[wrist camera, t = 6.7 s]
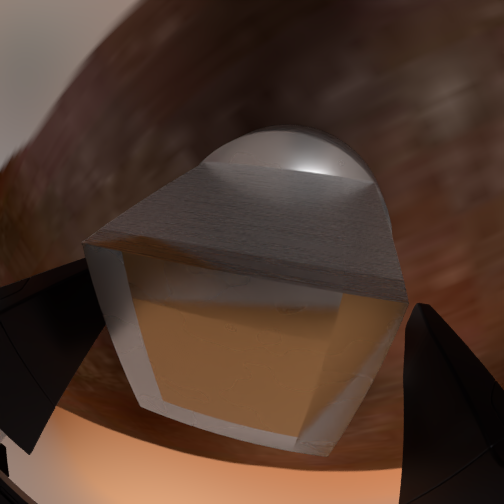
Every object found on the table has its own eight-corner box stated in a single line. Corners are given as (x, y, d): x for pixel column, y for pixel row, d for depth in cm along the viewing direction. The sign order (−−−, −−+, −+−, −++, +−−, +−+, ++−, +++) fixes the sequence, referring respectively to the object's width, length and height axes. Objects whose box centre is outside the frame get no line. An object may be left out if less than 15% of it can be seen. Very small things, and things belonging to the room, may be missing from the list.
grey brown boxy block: (374, 182, 9) (408, 303, 4) (343, 318, 12) (327, 457, 7) (205, 161, 10) (81, 242, 5) (210, 293, 13) (140, 406, 8)
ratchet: (202, 118, 12) (107, 147, 7) (400, 141, 10) (451, 188, 5) (215, 397, 22) (186, 461, 17) (317, 420, 20) (302, 491, 15)
